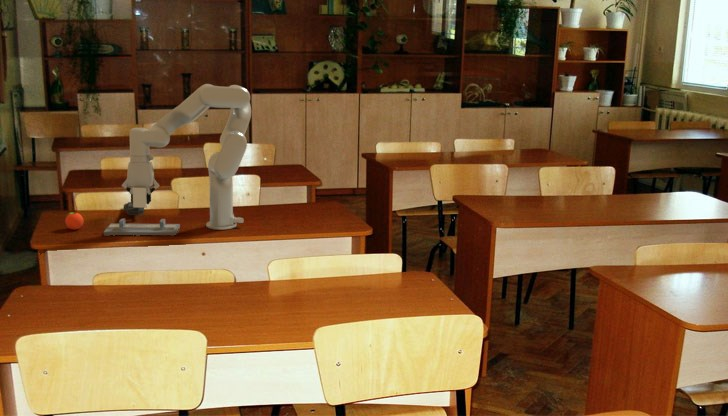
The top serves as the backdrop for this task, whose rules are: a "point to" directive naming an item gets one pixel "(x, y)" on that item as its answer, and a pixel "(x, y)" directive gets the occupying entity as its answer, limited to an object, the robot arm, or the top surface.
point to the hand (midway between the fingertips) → (141, 202)
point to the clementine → (74, 221)
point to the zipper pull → (133, 209)
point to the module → (140, 197)
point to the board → (141, 231)
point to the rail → (142, 226)
